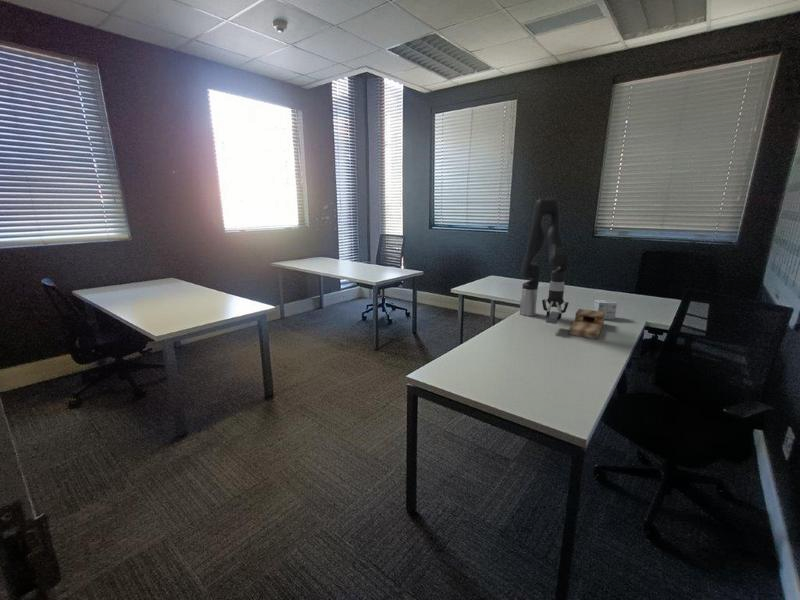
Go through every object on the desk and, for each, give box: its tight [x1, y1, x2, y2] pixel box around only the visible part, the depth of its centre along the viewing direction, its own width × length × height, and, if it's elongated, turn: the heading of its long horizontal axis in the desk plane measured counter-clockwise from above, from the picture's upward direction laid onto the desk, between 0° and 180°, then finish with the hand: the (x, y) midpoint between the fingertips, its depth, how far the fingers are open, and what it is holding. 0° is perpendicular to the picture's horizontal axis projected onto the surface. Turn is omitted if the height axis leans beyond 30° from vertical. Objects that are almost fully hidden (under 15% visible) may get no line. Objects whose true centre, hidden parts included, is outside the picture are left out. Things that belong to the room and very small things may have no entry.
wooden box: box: [568, 308, 605, 340], centre depth 207 cm, size 14×30×7 cm, turn 147°
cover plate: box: [545, 310, 559, 325], centre depth 205 cm, size 5×14×3 cm, turn 146°
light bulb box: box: [593, 299, 618, 320], centre depth 226 cm, size 11×7×11 cm, turn 84°
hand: (553, 318), depth 205 cm, fingers closed on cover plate, 5 cm apart
